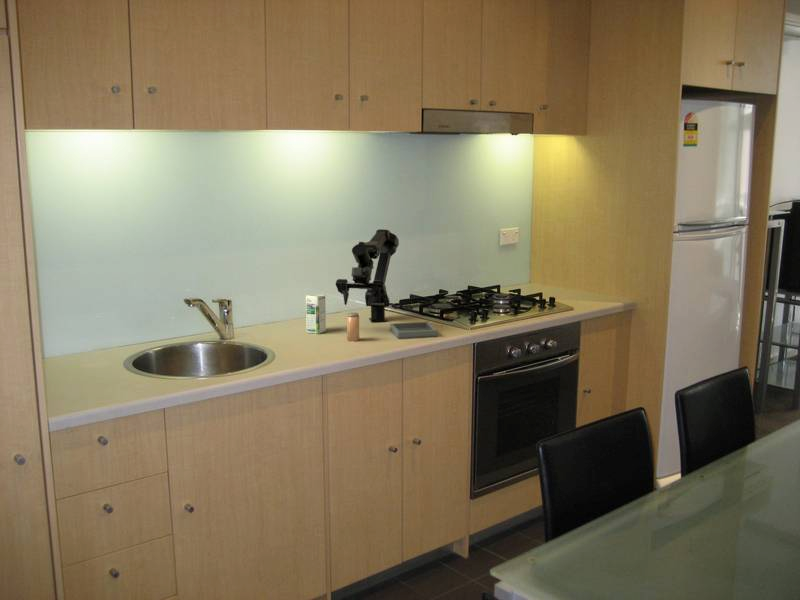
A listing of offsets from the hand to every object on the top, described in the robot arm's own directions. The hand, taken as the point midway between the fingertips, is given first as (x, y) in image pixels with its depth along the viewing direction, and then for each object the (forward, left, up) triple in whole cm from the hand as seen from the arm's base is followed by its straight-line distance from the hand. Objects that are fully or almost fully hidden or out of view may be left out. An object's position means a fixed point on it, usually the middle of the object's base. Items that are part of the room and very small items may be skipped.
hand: (356, 304), depth 298 cm
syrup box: (-11, -14, -12) cm, 22 cm away
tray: (0, +22, -12) cm, 25 cm away
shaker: (+5, -2, -12) cm, 13 cm away
